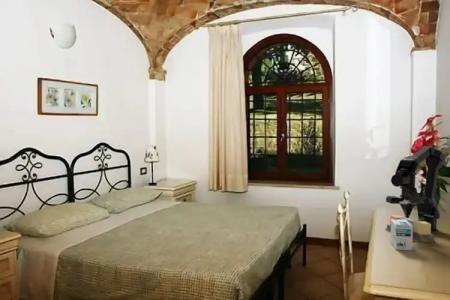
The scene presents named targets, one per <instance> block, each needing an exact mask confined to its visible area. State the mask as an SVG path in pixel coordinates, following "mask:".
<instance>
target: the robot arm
mask: <svg viewBox="0 0 450 300" xmlns="http://www.w3.org/2000/svg"><path fill="white" fill-rule="evenodd" d="M423 161H425V165H426V167H427V170H426V171H427V172H426V180H425V186H424V192H423V191H422V192H421V191H420V192H418V190H417V189H418V188H417V187H416V176H417V175H418V173H417V170H418V169H419V168H420V164H421V163H422V162H423ZM445 161H446V155H445V154H444V152H442V151H441V150H439V149H436V148H435V147H434V146H426V145H425V146H422V147H421V148H420V149H419V150H417V152H414V153H413V154H412V155H409V156H405V157H402V158H401V159H400V161H399V162H398V165H397V168H396V170H395V172H394V173H395V174H393V175H392V176H391V179H390V182H391V184H392V186H394V187H396V188H398V187H399V189H400V190H401V193H400V195H399V196H396V195H387V196H386V197H385V202H386V203H389V204H392V205H396V204H397V205H399V206H400V207H401V209H402V212H403V214H404V217H405V219H410V217H411V214H412V211H413V209H414V208H415V207H416V206H417V208H416V209H417V215H418V217H421V218H420V220H419V222H422V221H425V222H427V223H430V224H431V232H432V231H436V232H437V231H439V229H437V220H440V218H441V212H440V211H439V208H438V202H437V201H436V199H435V196H436V189H437V184H438V175H439V170H440V169H441V168H442V167H443V166H444V163H445Z"/></svg>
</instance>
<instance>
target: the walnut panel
mask: <svg viewBox="0 0 450 300" xmlns="http://www.w3.org/2000/svg"><path fill="white" fill-rule="evenodd" d="M385 230H386V231H387V232H389V233H391V225H390V224H386V228H385ZM421 242H423V243H424V242H427V243H429V242H435V235H434V234H432V233H431V235H420V234H418V233H416V232H414V231H413V238H412V243H421Z"/></svg>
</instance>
